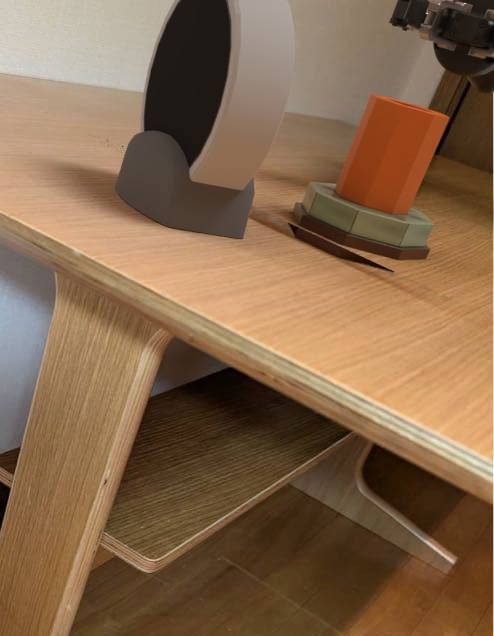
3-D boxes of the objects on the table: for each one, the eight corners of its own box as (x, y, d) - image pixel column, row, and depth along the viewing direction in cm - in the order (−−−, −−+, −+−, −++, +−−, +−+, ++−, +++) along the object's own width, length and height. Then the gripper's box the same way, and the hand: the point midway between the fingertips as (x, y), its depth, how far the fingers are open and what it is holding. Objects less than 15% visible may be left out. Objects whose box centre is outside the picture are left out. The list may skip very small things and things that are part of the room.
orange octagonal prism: (360, 191, 77) (397, 99, 73) (417, 215, 74) (460, 119, 70) (322, 189, 73) (359, 91, 69) (380, 213, 70) (423, 112, 66)
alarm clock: (95, 174, 76) (148, -65, 65) (192, 191, 79) (256, -32, 69) (158, 231, 64) (236, -50, 53) (269, 249, 67) (361, -11, 57)
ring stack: (337, 224, 83) (353, 183, 81) (439, 269, 76) (459, 226, 74) (265, 223, 75) (281, 178, 73) (371, 273, 69) (391, 225, 67)
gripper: (525, 94, 86) (520, 91, 73) (395, 57, 90) (368, 49, 77) (565, 11, 82) (566, -7, 69) (426, -23, 86) (403, -46, 73)
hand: (461, 23), depth 73 cm, fingers open, 8 cm apart
